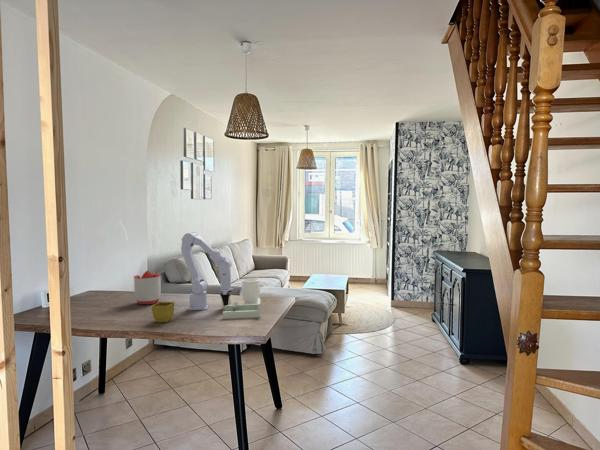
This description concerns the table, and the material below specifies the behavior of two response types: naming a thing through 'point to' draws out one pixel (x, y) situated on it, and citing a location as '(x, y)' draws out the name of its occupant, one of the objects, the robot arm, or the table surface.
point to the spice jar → (228, 301)
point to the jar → (250, 290)
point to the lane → (243, 311)
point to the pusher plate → (235, 307)
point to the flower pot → (163, 311)
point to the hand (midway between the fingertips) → (226, 304)
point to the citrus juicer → (147, 288)
